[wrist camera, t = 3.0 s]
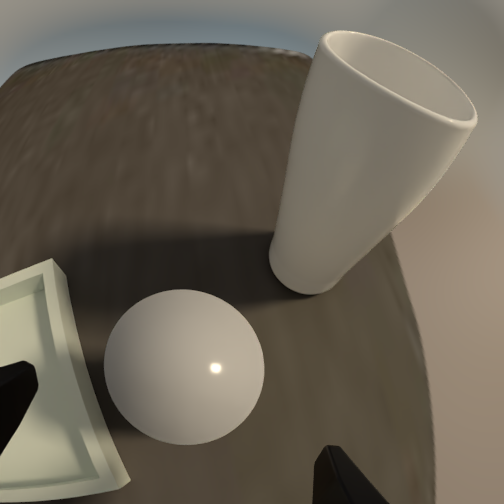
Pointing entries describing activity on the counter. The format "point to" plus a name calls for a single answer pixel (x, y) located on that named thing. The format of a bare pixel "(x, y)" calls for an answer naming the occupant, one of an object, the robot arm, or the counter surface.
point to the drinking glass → (361, 154)
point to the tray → (52, 396)
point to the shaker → (184, 367)
